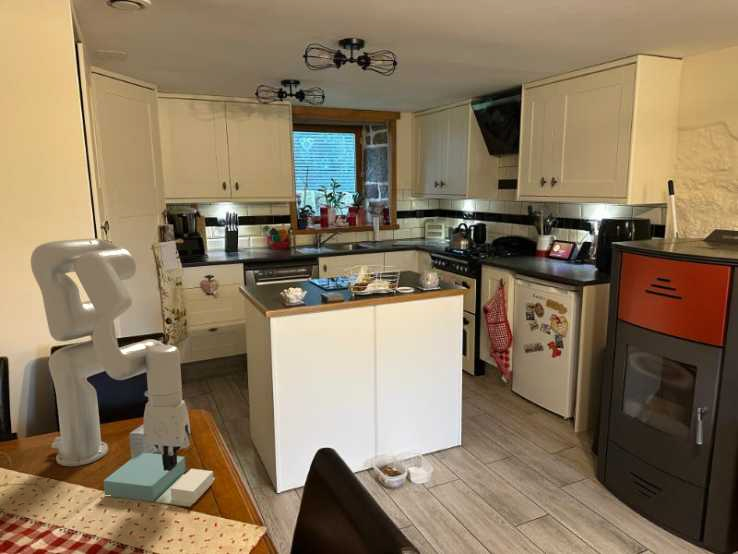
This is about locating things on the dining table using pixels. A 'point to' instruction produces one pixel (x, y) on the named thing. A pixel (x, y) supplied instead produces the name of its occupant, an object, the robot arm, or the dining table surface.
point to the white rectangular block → (192, 485)
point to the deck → (143, 478)
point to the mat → (167, 497)
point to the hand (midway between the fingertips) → (170, 467)
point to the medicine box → (140, 443)
